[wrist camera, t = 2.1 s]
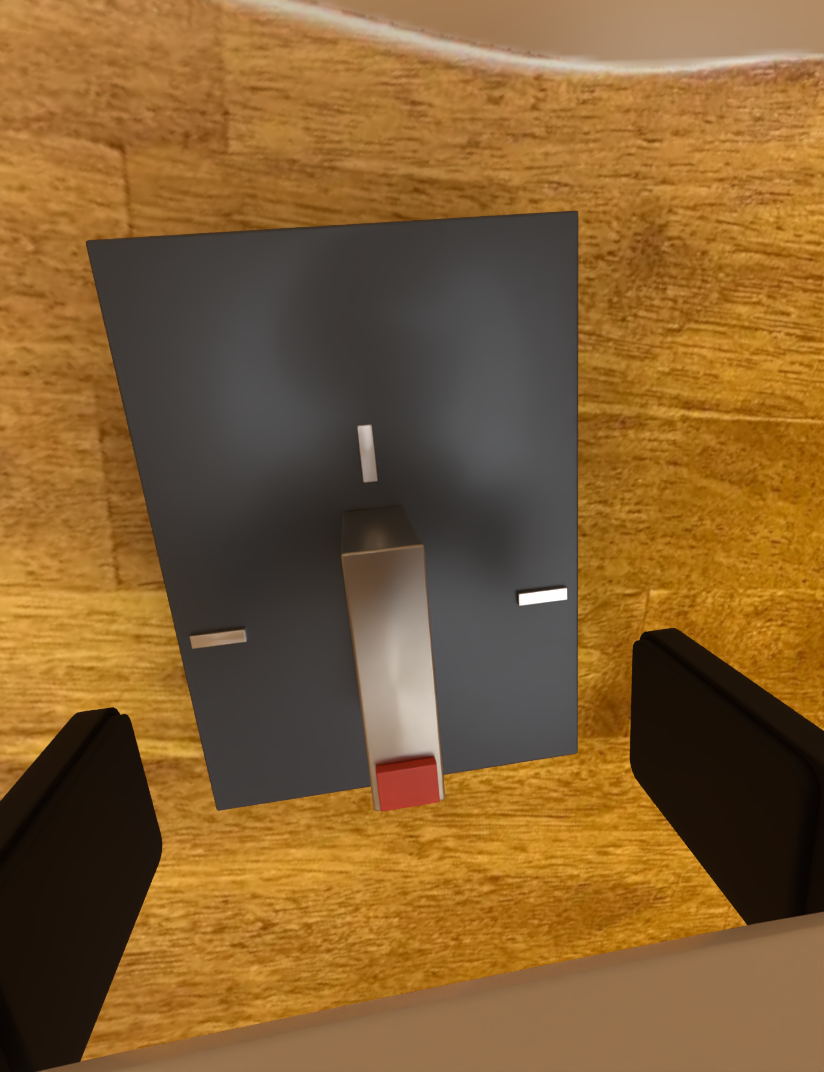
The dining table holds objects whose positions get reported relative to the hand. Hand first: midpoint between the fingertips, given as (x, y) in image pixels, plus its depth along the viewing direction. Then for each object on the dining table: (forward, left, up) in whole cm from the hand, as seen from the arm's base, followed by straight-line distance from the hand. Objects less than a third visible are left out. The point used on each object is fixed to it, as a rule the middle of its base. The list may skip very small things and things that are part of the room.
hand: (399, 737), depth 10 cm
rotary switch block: (-2, 0, -8) cm, 9 cm away
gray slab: (0, 0, -5) cm, 5 cm away
